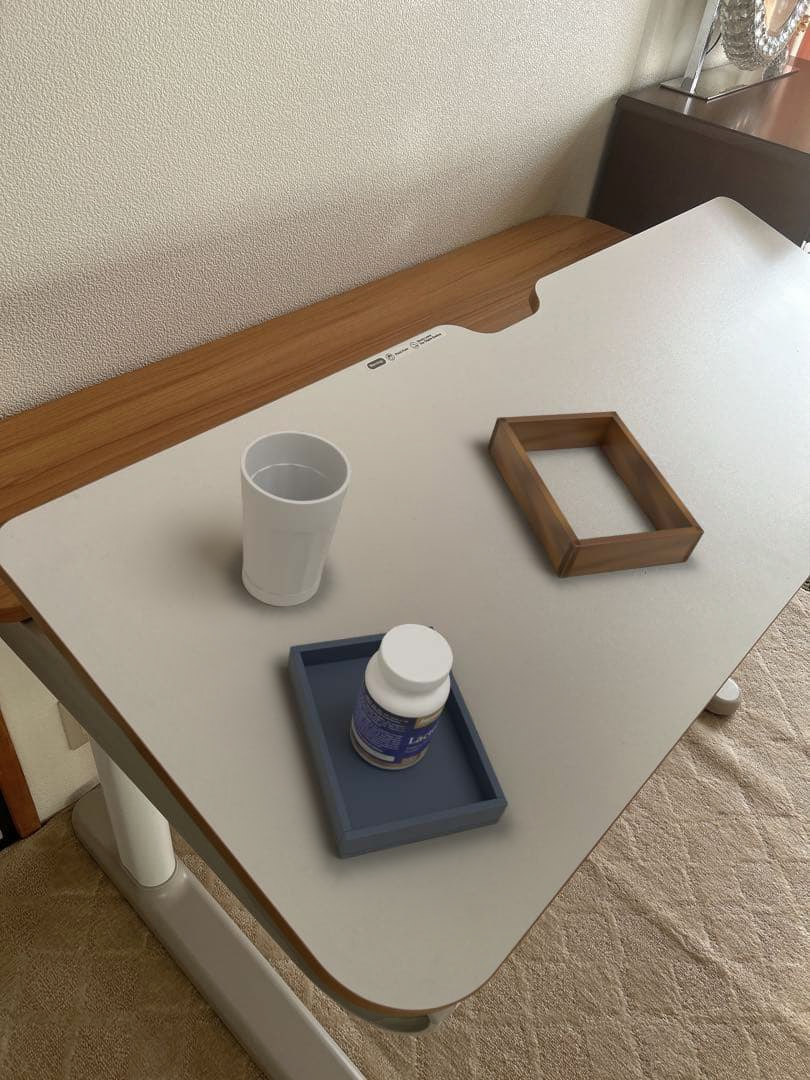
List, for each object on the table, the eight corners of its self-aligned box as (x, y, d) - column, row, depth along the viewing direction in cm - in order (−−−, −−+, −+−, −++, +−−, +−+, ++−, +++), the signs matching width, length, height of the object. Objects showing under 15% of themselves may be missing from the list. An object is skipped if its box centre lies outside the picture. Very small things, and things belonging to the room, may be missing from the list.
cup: (265, 527, 75) (278, 416, 67) (347, 568, 74) (370, 459, 66) (211, 585, 70) (218, 471, 62) (298, 630, 68) (316, 520, 60)
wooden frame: (686, 561, 83) (704, 531, 80) (560, 578, 78) (574, 546, 75) (602, 440, 94) (615, 410, 91) (486, 448, 89) (497, 417, 86)
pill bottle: (412, 786, 60) (444, 703, 53) (335, 752, 61) (357, 666, 54) (439, 722, 64) (472, 637, 57) (367, 690, 65) (391, 603, 58)
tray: (498, 822, 60) (508, 804, 58) (340, 859, 56) (346, 840, 54) (425, 646, 70) (432, 625, 68) (286, 667, 66) (290, 646, 64)
